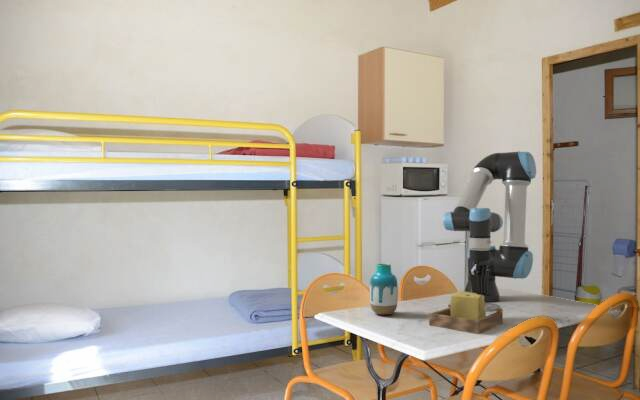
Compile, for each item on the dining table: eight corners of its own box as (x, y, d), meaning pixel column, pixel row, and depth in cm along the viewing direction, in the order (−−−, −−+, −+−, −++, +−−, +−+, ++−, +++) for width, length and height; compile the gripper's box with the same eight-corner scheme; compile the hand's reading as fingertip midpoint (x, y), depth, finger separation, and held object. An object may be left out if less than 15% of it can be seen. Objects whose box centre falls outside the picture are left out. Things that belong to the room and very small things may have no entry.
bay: (429, 325, 187) (429, 310, 187) (456, 315, 201) (456, 302, 201) (477, 333, 175) (477, 317, 175) (502, 323, 189) (502, 308, 189)
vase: (378, 310, 211) (378, 262, 211) (402, 313, 205) (402, 264, 205) (364, 315, 203) (364, 264, 203) (389, 318, 197) (389, 266, 197)
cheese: (485, 320, 194) (485, 292, 194) (479, 326, 184) (478, 297, 184) (457, 317, 199) (457, 290, 199) (449, 323, 189) (449, 295, 189)
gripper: (481, 251, 191) (481, 317, 191) (497, 248, 200) (497, 311, 200) (462, 249, 196) (462, 314, 196) (478, 247, 205) (478, 308, 205)
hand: (479, 312), depth 198 cm, fingers closed
